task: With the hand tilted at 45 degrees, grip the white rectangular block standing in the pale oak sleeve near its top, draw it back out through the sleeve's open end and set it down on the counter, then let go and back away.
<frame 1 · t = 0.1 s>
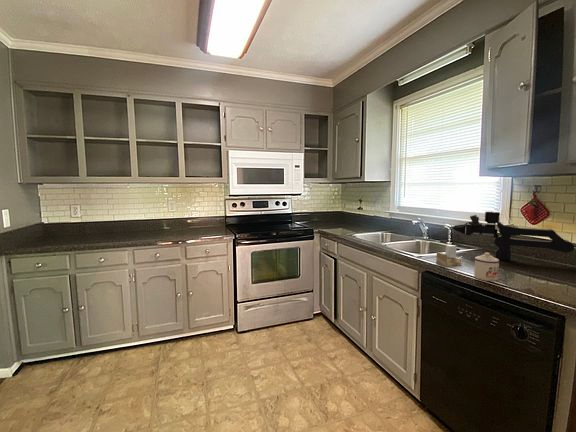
hand: (453, 227, 171), 17 cm above the worktop, tool horizontal, fingers open, 9 cm apart
teacup with lid: (487, 278, 126), on the worktop
sleeve: (450, 263, 150), on the worktop
white rectangular block: (450, 263, 150), resting in sleeve
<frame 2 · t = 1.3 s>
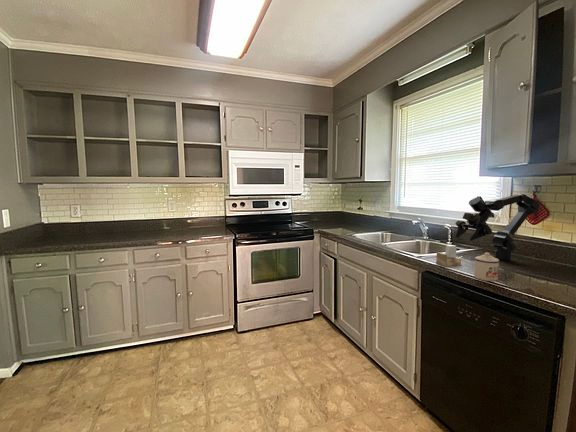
hand: (463, 238, 151), 13 cm above the worktop, tool tilted 45°, fingers open, 9 cm apart
nothing on the worktop moved.
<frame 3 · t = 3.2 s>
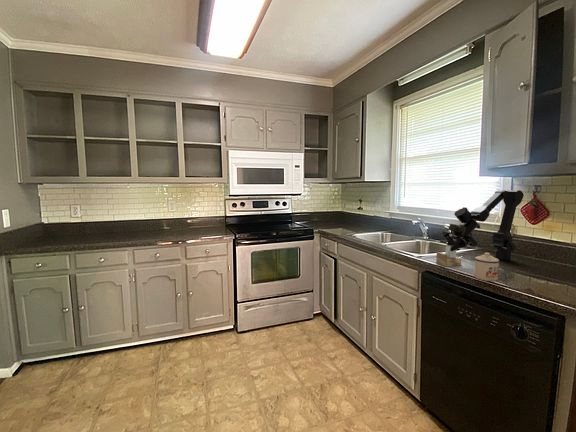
hand: (448, 250, 149), 8 cm above the worktop, tool tilted 45°, fingers closed on white rectangular block, 3 cm apart
white rectangular block: (450, 263, 150), resting in sleeve, touching gripper
everything else where it was.
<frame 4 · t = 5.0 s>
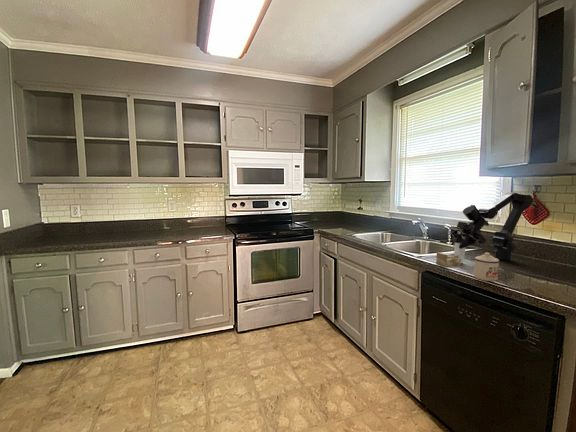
hand: (457, 247, 150), 9 cm above the worktop, tool tilted 45°, fingers closed on white rectangular block, 3 cm apart
white rectangular block: (459, 261, 151), point 1 cm above the worktop, touching gripper
everything else where it was.
when the fingers open (8 cm above the worktop, at t = 6.6 s): white rectangular block stays where it is, on the worktop.
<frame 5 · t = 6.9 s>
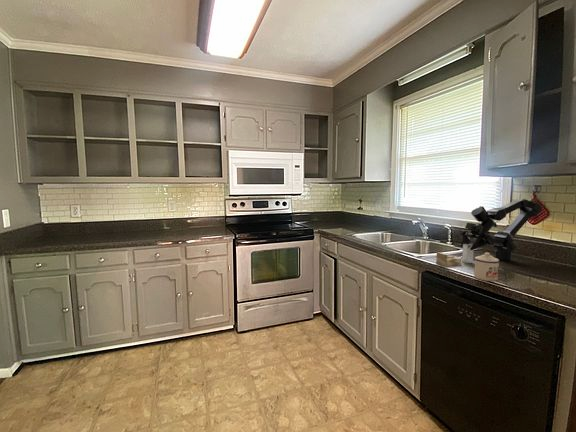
hand: (465, 248, 152), 8 cm above the worktop, tool tilted 45°, fingers open, 6 cm apart
white rectangular block: (467, 262, 153), on the worktop
everything else where it was.
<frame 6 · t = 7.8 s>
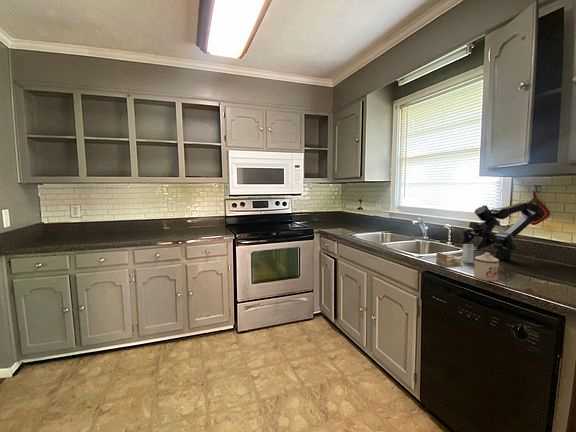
hand: (469, 247, 152), 8 cm above the worktop, tool tilted 45°, fingers open, 9 cm apart
nothing on the worktop moved.
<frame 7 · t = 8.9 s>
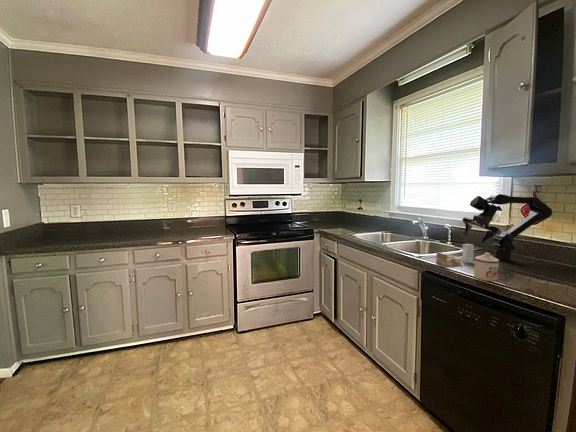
hand: (473, 239, 157), 12 cm above the worktop, tool tilted 25°, fingers open, 9 cm apart
nothing on the worktop moved.
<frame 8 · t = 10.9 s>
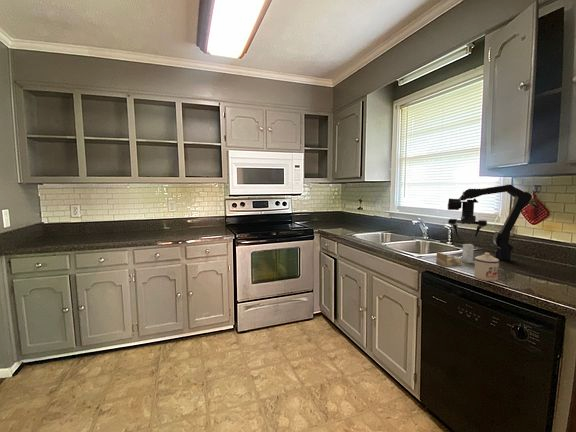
hand: (466, 236, 164), 12 cm above the worktop, tool pointing down, fingers open, 9 cm apart
nothing on the worktop moved.
at the end: white rectangular block moved 11.1 cm from its start; white rectangular block touching worktop; white rectangular block on the worktop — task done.
